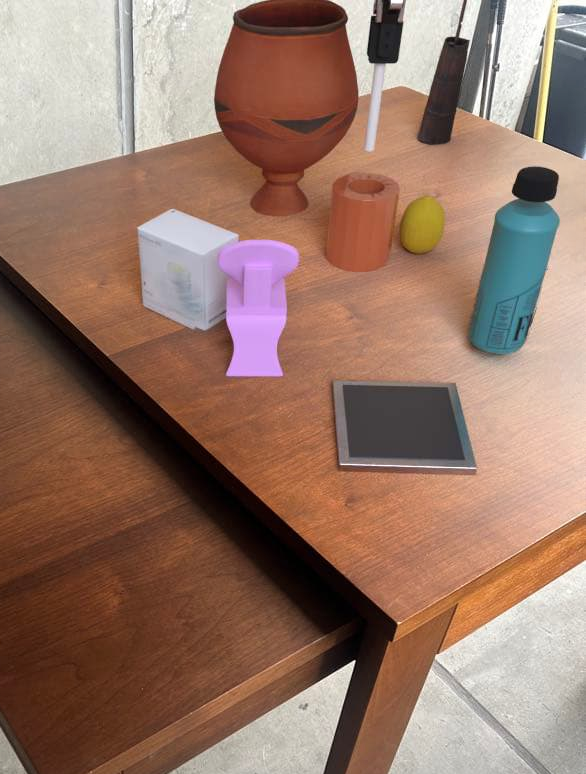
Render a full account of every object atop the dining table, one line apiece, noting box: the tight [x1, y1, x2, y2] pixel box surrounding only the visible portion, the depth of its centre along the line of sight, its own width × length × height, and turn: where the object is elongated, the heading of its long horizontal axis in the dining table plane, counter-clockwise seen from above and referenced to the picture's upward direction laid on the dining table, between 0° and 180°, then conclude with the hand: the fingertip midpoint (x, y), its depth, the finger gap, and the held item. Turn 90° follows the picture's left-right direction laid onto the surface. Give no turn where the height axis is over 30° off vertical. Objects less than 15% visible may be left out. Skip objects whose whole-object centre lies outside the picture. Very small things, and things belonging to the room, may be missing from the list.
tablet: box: [331, 379, 478, 476], centre depth 88 cm, size 13×14×1 cm
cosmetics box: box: [136, 208, 240, 331], centre depth 101 cm, size 10×6×10 cm, turn 47°
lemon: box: [399, 194, 446, 255], centre depth 111 cm, size 6×6×8 cm
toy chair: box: [218, 239, 300, 377], centre depth 93 cm, size 8×9×15 cm
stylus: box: [363, 64, 387, 153], centre depth 97 cm, size 1×1×15 cm
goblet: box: [213, 0, 359, 218], centre depth 116 cm, size 19×19×25 cm
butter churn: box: [417, 0, 471, 145], centre depth 130 cm, size 9×10×28 cm
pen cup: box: [325, 172, 401, 273], centre depth 109 cm, size 8×8×10 cm
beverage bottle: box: [467, 165, 561, 355], centre depth 91 cm, size 6×7×20 cm
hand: (381, 58), depth 95 cm, fingers closed on stylus, 1 cm apart
